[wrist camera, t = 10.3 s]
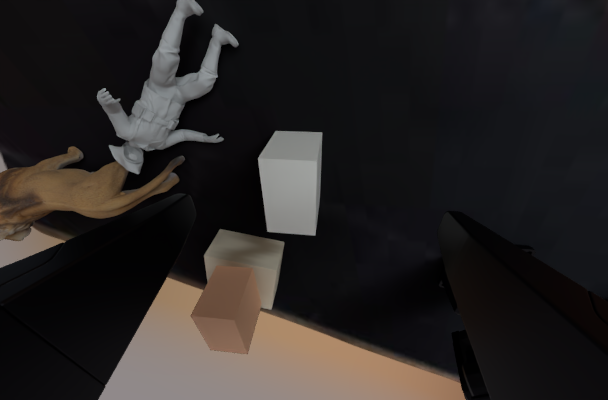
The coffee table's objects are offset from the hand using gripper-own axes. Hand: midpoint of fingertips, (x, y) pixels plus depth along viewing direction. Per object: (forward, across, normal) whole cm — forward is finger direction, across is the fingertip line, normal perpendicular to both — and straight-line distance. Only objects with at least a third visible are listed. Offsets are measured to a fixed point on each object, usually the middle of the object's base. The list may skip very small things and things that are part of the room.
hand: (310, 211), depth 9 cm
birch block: (+11, +8, +16) cm, 21 cm away
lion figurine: (+11, +19, +5) cm, 23 cm away
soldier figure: (+11, +11, -2) cm, 16 cm away
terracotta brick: (+7, +8, +16) cm, 19 cm away
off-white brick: (+11, +2, +4) cm, 12 cm away
